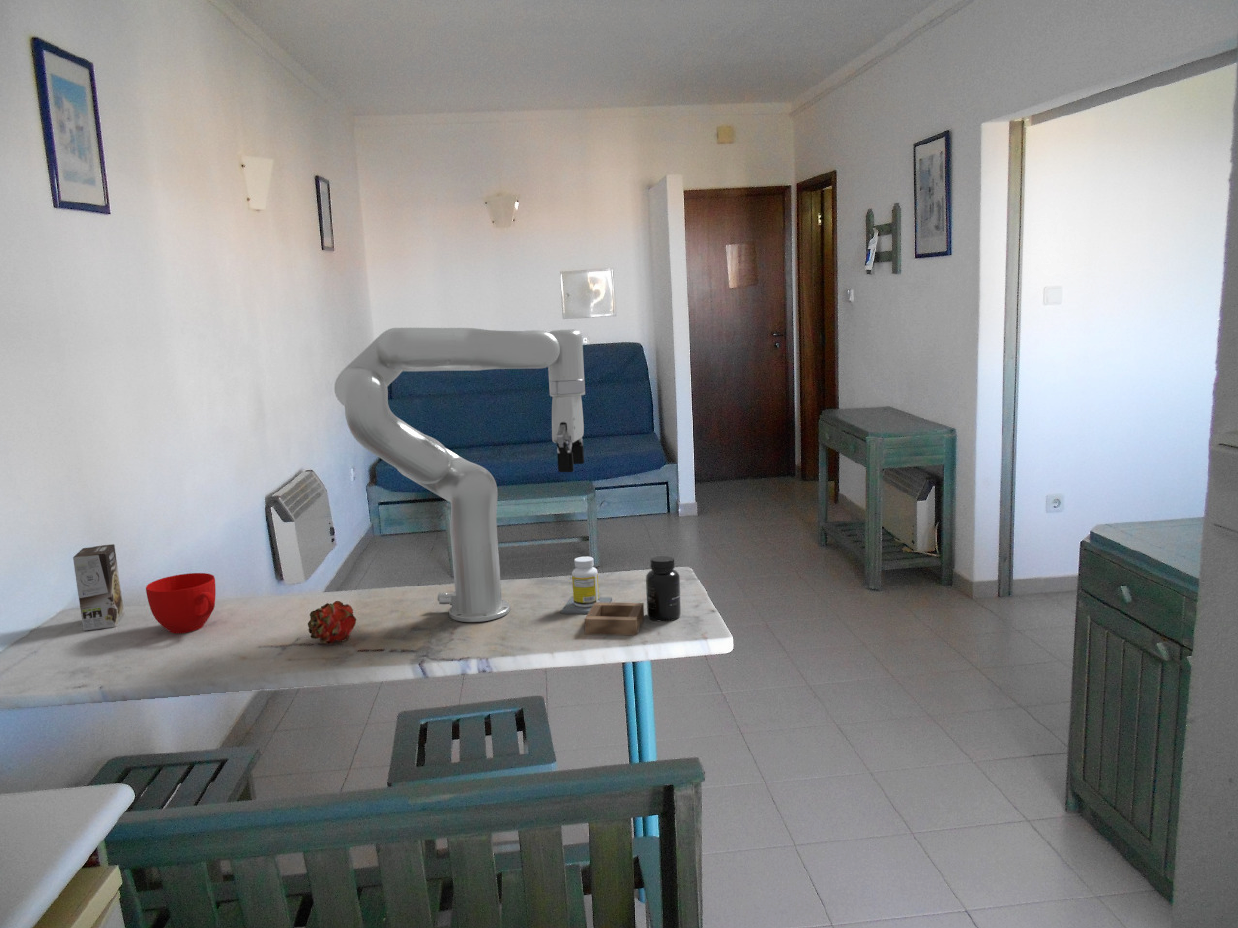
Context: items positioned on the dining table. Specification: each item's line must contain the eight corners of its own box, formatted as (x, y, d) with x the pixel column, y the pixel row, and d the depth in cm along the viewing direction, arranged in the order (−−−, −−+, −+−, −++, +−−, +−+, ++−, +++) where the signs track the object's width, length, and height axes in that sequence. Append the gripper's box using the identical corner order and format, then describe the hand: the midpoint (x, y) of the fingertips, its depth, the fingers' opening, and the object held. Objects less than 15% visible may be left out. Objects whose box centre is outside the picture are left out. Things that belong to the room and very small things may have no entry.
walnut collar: (585, 633, 176) (584, 619, 175) (595, 616, 185) (594, 602, 185) (636, 634, 174) (635, 619, 173) (644, 617, 184) (643, 602, 183)
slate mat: (561, 613, 188) (561, 610, 188) (571, 599, 197) (571, 596, 197) (604, 614, 187) (604, 611, 187) (612, 600, 195) (612, 597, 195)
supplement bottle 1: (582, 598, 195) (580, 554, 194) (604, 601, 193) (602, 556, 191) (568, 605, 191) (566, 560, 189) (590, 609, 188) (587, 563, 186)
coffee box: (116, 627, 192) (106, 553, 190) (82, 631, 191) (71, 557, 188) (125, 613, 201) (115, 543, 198) (93, 618, 199) (82, 546, 196)
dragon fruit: (313, 660, 173) (346, 646, 184) (345, 635, 171) (377, 623, 182) (289, 623, 174) (323, 611, 185) (321, 598, 172) (354, 588, 183)
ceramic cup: (186, 646, 179) (180, 597, 177) (139, 633, 188) (132, 586, 186) (244, 625, 189) (239, 579, 188) (197, 614, 199) (191, 569, 197)
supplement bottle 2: (681, 621, 180) (679, 562, 178) (647, 622, 181) (645, 564, 179) (680, 609, 187) (678, 553, 185) (647, 611, 187) (644, 554, 185)
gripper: (560, 385, 202) (564, 460, 205) (539, 393, 186) (544, 475, 188) (593, 384, 201) (597, 460, 204) (574, 392, 184) (579, 475, 187)
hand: (571, 467), depth 196 cm, fingers open, 9 cm apart
